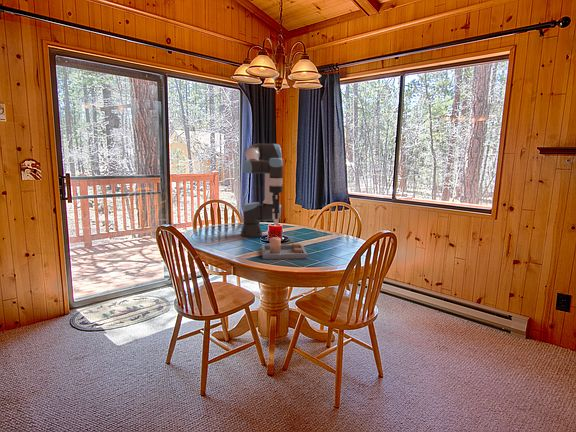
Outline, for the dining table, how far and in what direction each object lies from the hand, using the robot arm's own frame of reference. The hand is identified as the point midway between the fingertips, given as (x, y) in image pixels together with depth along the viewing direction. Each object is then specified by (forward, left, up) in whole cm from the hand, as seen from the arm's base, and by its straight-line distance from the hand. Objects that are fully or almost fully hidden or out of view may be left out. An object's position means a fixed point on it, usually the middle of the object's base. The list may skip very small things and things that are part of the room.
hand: (275, 221), depth 211 cm
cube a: (-5, +13, -19) cm, 23 cm away
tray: (0, +5, -19) cm, 20 cm away
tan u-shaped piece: (0, 0, -19) cm, 19 cm away
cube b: (+5, +13, -19) cm, 23 cm away
